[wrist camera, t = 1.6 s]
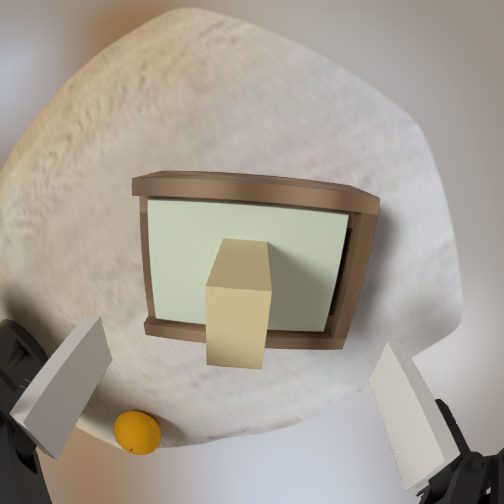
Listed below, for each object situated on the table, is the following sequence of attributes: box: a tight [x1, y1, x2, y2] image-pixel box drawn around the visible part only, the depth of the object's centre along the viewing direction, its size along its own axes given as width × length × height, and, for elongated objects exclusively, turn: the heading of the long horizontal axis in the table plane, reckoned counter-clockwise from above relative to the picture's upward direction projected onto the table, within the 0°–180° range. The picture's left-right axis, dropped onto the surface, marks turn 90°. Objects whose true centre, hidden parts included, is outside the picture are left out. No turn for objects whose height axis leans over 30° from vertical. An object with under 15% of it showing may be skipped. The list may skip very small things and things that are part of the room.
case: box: [132, 171, 380, 350], centre depth 22 cm, size 17×13×6 cm
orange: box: [114, 411, 161, 455], centre depth 33 cm, size 8×8×8 cm
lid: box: [148, 198, 349, 369], centre depth 17 cm, size 14×10×8 cm
